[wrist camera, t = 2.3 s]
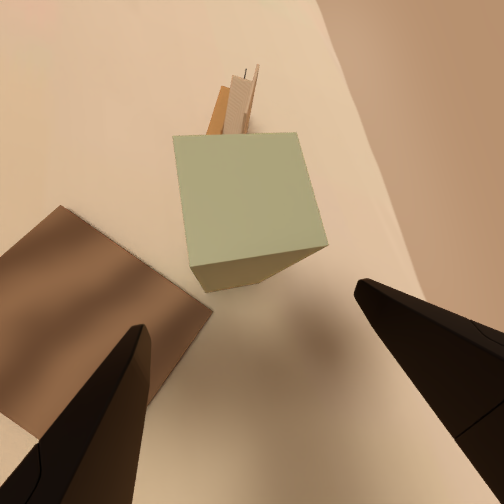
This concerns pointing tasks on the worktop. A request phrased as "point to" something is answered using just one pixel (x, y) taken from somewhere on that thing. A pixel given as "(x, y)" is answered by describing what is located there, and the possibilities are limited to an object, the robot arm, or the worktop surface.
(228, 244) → the sage block
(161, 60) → the worktop surface
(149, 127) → the worktop surface
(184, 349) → the walnut board
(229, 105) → the architectural model
